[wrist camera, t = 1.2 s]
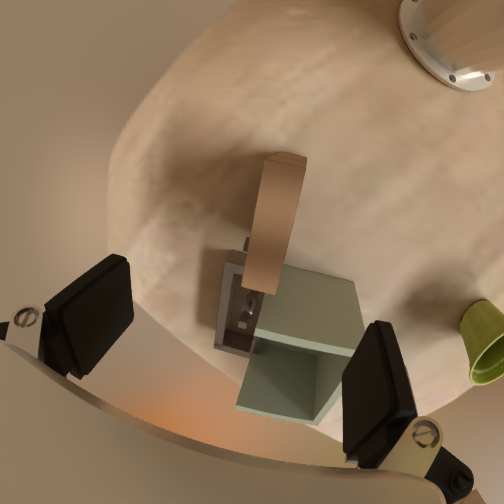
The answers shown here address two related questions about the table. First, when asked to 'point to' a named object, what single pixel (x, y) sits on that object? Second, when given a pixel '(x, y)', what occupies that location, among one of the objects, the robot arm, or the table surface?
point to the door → (273, 221)
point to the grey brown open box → (223, 335)
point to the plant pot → (484, 342)
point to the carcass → (302, 347)
